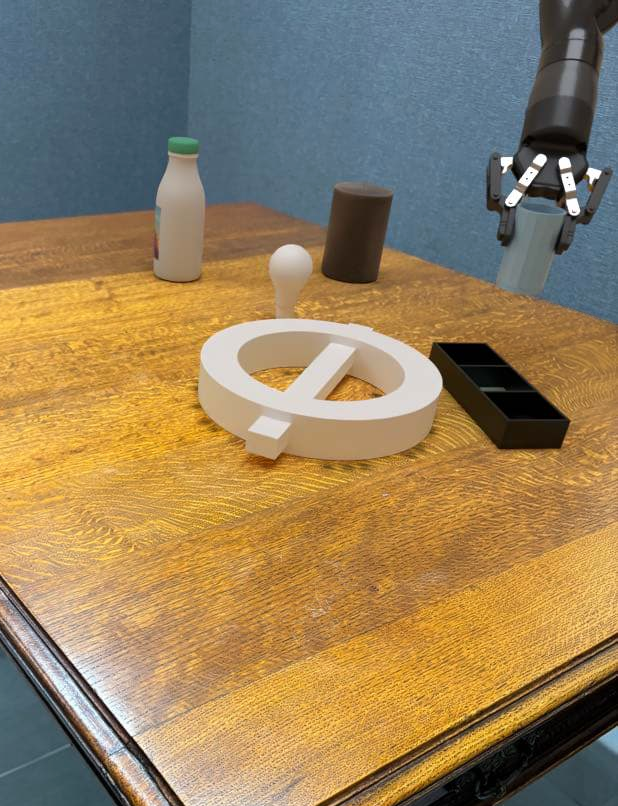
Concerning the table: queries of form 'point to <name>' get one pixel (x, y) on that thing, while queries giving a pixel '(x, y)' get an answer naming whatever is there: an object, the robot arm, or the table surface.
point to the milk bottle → (180, 215)
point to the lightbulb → (289, 277)
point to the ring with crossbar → (317, 389)
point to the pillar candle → (356, 232)
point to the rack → (498, 397)
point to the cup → (530, 248)
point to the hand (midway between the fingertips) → (532, 246)
